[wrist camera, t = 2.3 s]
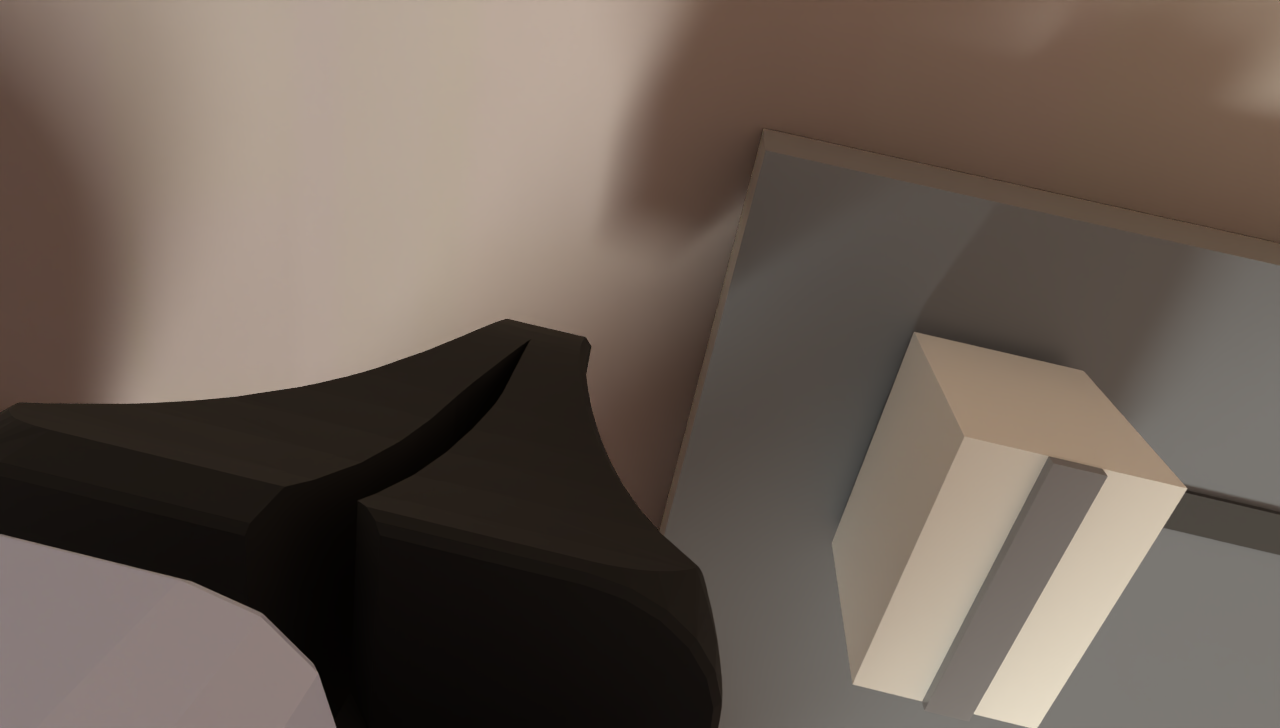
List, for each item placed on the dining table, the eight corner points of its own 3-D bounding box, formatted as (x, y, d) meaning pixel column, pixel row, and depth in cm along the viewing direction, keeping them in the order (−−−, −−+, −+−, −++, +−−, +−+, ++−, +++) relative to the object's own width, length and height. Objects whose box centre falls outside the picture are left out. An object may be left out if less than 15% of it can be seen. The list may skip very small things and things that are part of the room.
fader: (831, 543, 13) (853, 693, 10) (914, 331, 11) (967, 443, 9) (977, 578, 13) (1040, 739, 10) (1083, 370, 11) (1193, 496, 8)
